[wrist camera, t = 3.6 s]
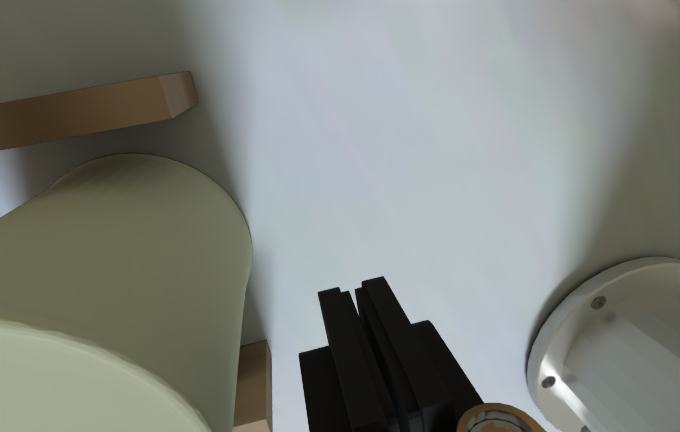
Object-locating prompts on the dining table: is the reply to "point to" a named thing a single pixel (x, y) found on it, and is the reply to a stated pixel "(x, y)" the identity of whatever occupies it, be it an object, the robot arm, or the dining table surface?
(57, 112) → the channel
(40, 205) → the can
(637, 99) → the dining table surface
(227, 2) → the dining table surface
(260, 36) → the dining table surface
